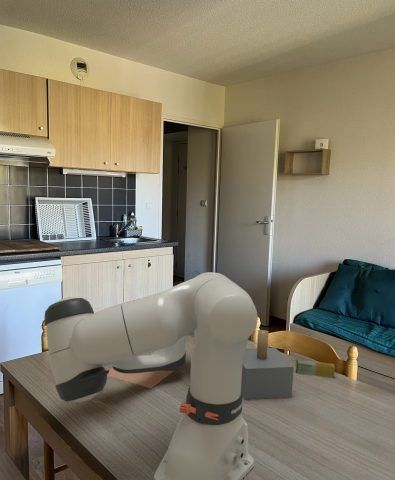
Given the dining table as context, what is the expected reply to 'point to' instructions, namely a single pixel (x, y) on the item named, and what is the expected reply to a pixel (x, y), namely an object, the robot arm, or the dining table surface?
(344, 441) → the dining table surface
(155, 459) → the dining table surface
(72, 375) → the robot arm
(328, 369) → the medication box
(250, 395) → the cover
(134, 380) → the mat
